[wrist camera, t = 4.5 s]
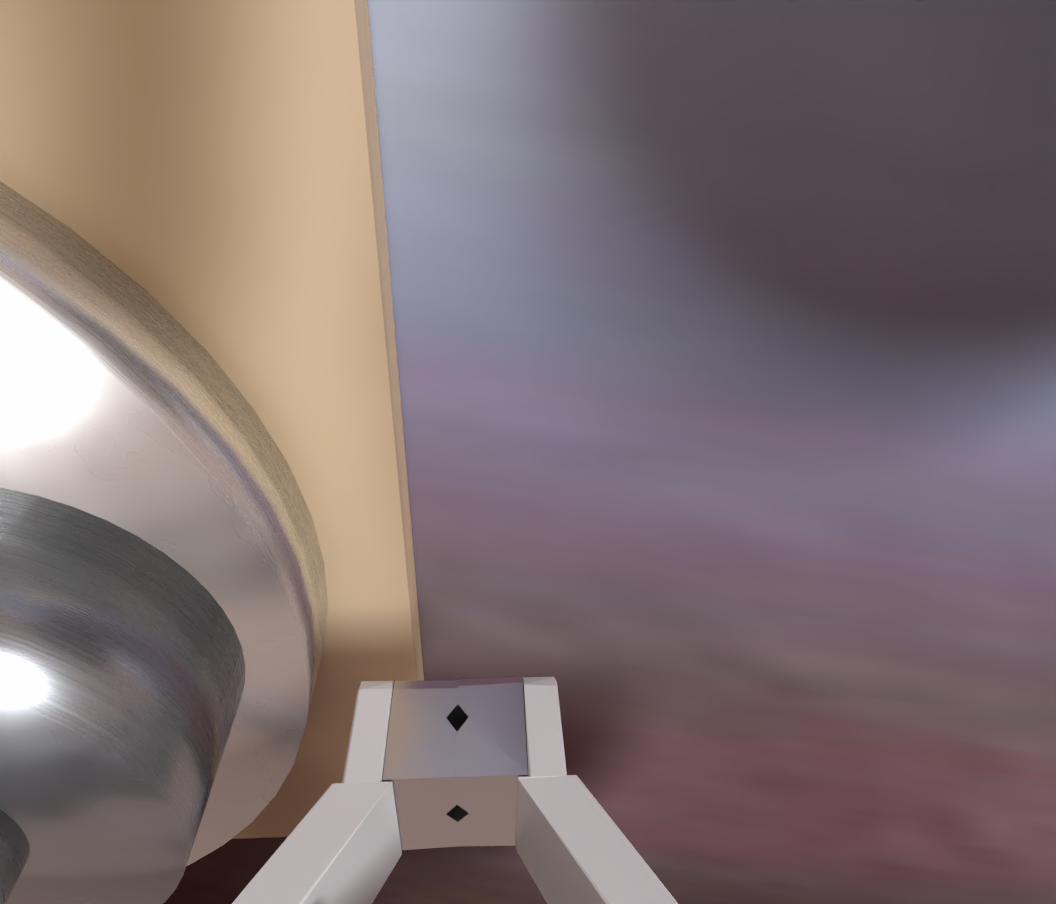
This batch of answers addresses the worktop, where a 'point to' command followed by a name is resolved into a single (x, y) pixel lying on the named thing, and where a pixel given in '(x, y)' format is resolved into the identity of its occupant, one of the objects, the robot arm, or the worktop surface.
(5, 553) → the cover
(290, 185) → the turntable base
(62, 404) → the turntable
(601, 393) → the worktop surface
